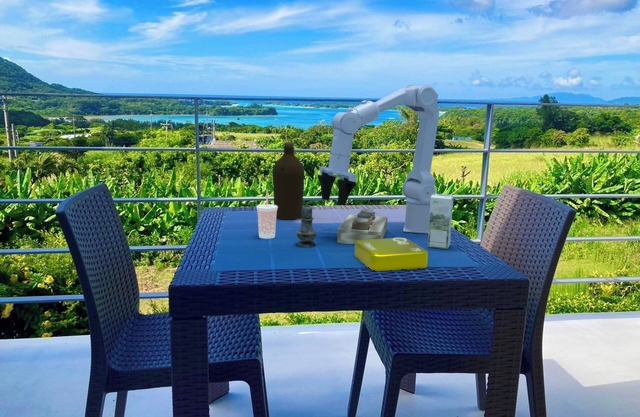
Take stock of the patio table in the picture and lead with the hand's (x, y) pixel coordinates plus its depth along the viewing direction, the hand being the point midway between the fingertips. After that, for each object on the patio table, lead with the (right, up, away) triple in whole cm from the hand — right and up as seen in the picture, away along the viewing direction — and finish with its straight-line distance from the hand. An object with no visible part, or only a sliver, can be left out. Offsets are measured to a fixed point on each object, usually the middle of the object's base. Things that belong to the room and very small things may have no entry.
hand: (333, 202), depth 161 cm
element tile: (+14, -16, -18) cm, 28 cm away
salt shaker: (-8, -12, -5) cm, 15 cm away
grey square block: (+9, -10, +6) cm, 15 cm away
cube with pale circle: (+8, -9, -1) cm, 12 cm away
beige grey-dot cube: (+9, -7, +5) cm, 13 cm away
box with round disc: (+11, -6, +12) cm, 17 cm away
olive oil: (-14, -5, +29) cm, 33 cm away
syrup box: (+30, -13, -3) cm, 32 cm away
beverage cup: (-19, -10, +3) cm, 22 cm away
